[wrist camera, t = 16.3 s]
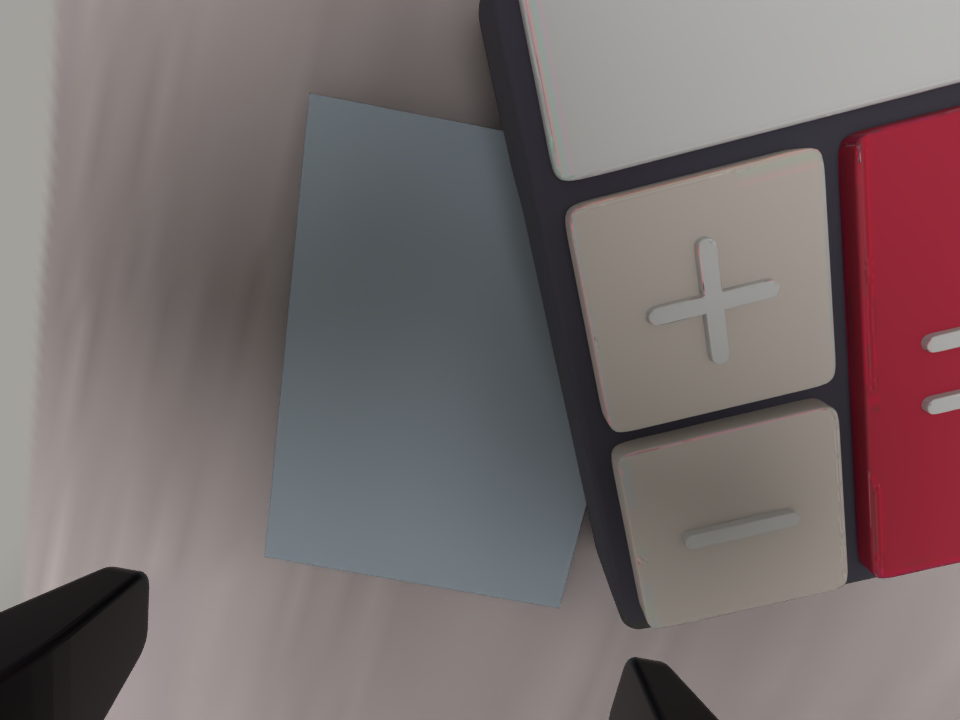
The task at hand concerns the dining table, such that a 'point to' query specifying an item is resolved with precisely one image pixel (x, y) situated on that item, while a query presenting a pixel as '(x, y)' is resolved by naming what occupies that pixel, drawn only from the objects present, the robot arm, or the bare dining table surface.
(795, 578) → the calculator
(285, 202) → the dining table surface
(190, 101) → the dining table surface
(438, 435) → the mat
